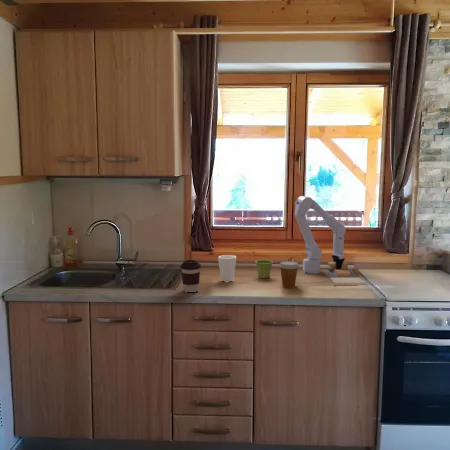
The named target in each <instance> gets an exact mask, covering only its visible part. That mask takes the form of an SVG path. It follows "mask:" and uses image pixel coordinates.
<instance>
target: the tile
mask: <svg viewBox="0 0 450 450" xmlns="http://www.w3.org/2000/svg"><path fill="white" fill-rule="evenodd" d="M334 274H335V275H336V276H350V272H349V271H348V270H334Z"/></svg>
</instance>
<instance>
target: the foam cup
mask: <svg viewBox="0 0 450 450" xmlns="http://www.w3.org/2000/svg"><path fill="white" fill-rule="evenodd" d="M217 261H218V266H219V274H220V275H219V276H220V281H221V280H222V281H233V282H234V278H235V270H236V263H237V255H234V254H223V255H222V254H221V255H219V256H218V257H217ZM222 281H221V282H222Z"/></svg>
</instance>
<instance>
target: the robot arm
mask: <svg viewBox="0 0 450 450" xmlns="http://www.w3.org/2000/svg"><path fill="white" fill-rule="evenodd" d="M309 210H313V211H315V212H316V213H317V214H318V215H319V216H320V217H321V218H322V219H323V223H325V225H326V226H327V227H329V228H330V229H331V232H332V233H333V237H332V240H333V241H332V255H331V258H332V262H336V269H337V270H341V267H342V264H343V262H345V259H346V258H345V257H344V255H346V252H344V246H345V245H344V243H345V242H344V241H345V233H346V231H347V229H346V227H345V225H344V224H341V221H340V220H338V219H337V218H335V217H336V216H335V215H334V214H331V213H329V214H328V213H327V212H326V210H324V208H322V207H321V206H320V205H319V204H318V202H317V201H315V200H314V199H313V198H312V197H309V196H305V195H300V196H299V197H297V199H296V201H295V208H294V217H295V220H296V222H297V225H298V227H299V230H300V232H301V234H302V237H303V240H304V242H305V244H304V246H305V253H306V256H307V257H306V258H304V259H302V274H303V275H305V274H315V275H316V274H320V273H321V259H322V256H323V250H321V249H320V248H319V245H318V244H317V242H316V241H315V238H314V236H313V233H312V230H311V227H310V225H309V223H308V219H307V217H306V214H307V213H308V211H309Z"/></svg>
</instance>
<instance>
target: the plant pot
mask: <svg viewBox="0 0 450 450" xmlns="http://www.w3.org/2000/svg"><path fill="white" fill-rule="evenodd" d="M255 263H256V268H257V270H256V271H257V276H258V278H259V277H260V279H269V278H270V276H271V269H272V265H273V263H274V262H273V260H269V259H258V260H255ZM268 277H269V278H268Z"/></svg>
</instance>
